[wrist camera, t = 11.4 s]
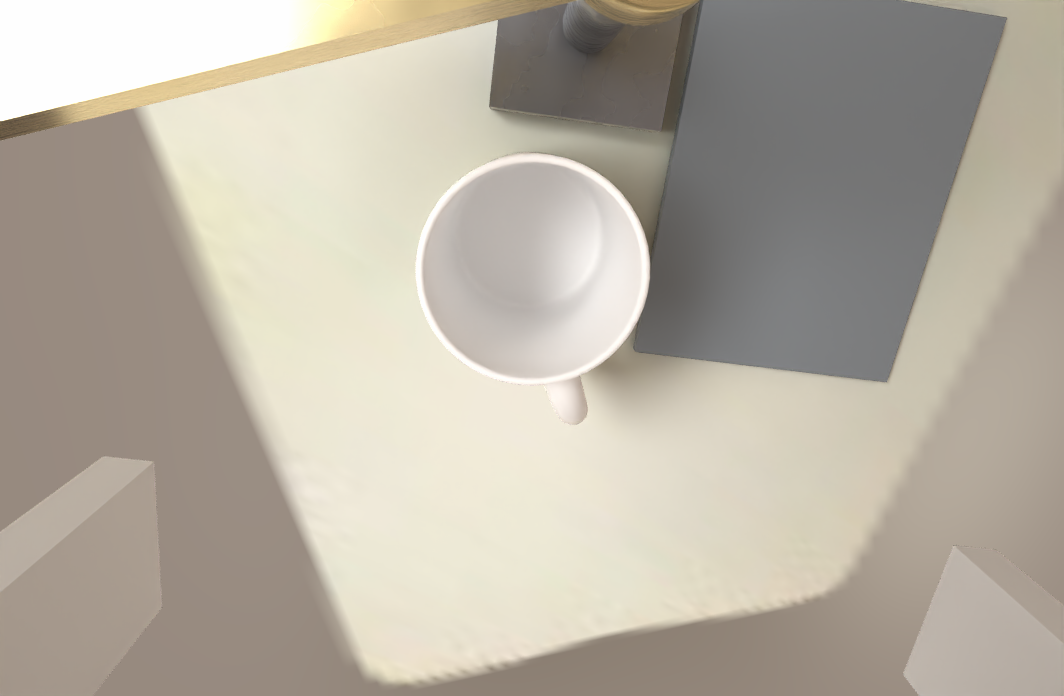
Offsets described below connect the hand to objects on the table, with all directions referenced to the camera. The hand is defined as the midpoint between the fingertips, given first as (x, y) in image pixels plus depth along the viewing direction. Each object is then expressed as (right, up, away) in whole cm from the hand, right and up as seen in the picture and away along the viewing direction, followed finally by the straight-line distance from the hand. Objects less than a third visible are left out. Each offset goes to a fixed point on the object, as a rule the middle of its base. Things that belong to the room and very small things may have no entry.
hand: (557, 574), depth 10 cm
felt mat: (+13, +11, +21) cm, 27 cm away
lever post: (+2, +19, +18) cm, 26 cm away
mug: (0, +8, +22) cm, 23 cm away
